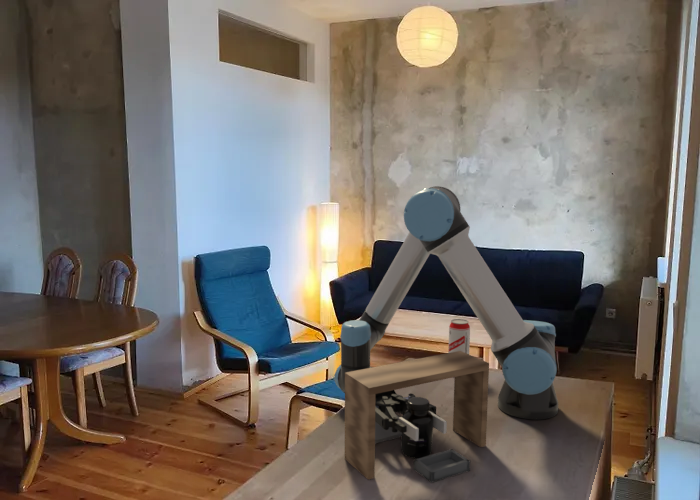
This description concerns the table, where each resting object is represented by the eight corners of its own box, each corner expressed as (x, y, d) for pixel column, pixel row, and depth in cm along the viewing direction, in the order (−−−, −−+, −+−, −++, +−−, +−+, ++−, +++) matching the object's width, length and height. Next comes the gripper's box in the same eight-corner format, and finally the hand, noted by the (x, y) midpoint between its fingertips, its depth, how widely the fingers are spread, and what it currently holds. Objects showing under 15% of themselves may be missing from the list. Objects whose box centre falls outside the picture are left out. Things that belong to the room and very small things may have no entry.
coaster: (390, 414, 158) (390, 411, 158) (418, 432, 148) (418, 429, 148) (349, 423, 153) (349, 420, 153) (374, 443, 142) (375, 440, 142)
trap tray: (413, 469, 131) (414, 459, 130) (451, 458, 136) (452, 448, 135) (430, 482, 126) (431, 472, 125) (469, 470, 130) (470, 460, 130)
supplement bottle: (412, 462, 134) (413, 409, 132) (395, 449, 140) (396, 398, 138) (438, 455, 137) (439, 403, 135) (421, 442, 143) (422, 392, 141)
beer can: (453, 367, 193) (454, 317, 190) (472, 371, 189) (474, 320, 187) (444, 373, 188) (445, 321, 185) (463, 377, 184) (464, 325, 182)
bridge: (344, 458, 135) (344, 372, 132) (457, 428, 150) (460, 350, 147) (368, 479, 127) (369, 388, 124) (485, 445, 141) (489, 363, 138)
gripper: (407, 401, 158) (466, 437, 138) (339, 417, 149) (392, 458, 129) (408, 373, 157) (467, 405, 137) (339, 387, 148) (392, 423, 128)
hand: (431, 431), depth 133 cm, fingers closed on supplement bottle, 7 cm apart
